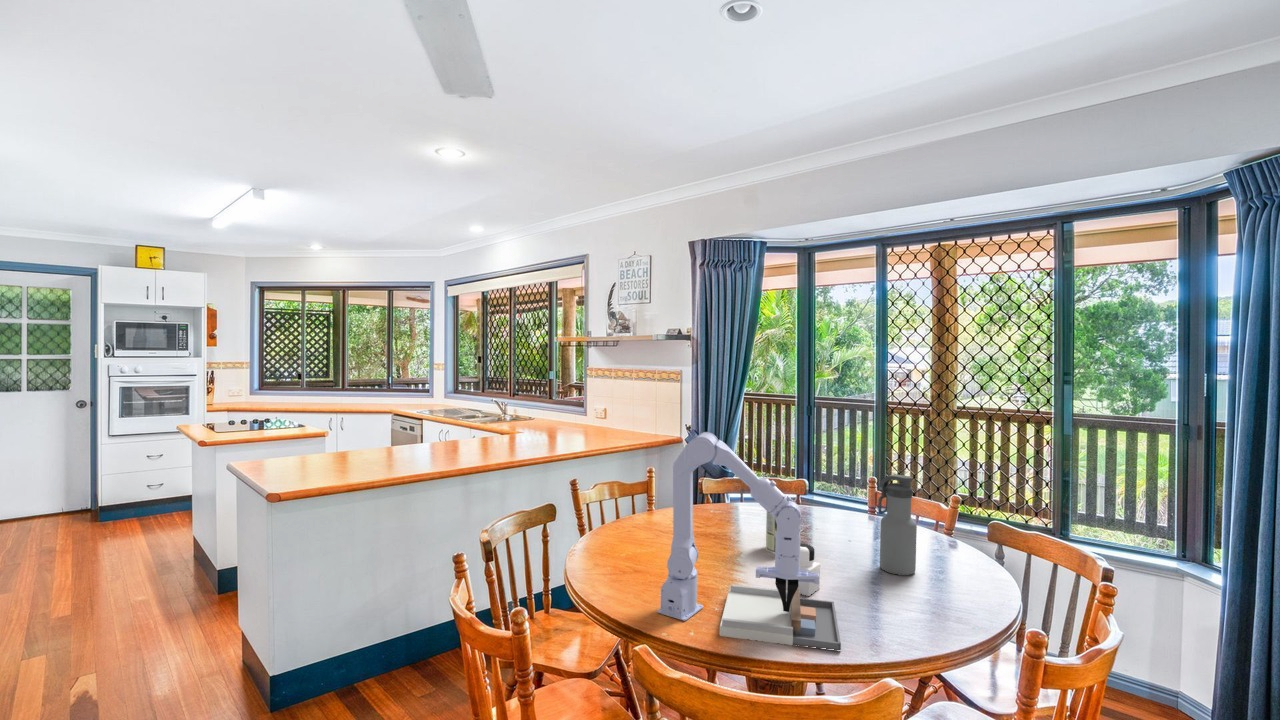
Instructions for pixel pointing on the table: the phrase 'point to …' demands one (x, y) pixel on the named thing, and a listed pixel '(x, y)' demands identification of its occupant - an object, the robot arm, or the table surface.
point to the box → (820, 626)
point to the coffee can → (771, 533)
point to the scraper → (796, 612)
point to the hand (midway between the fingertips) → (786, 609)
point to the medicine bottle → (807, 569)
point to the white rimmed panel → (756, 615)
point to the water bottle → (897, 526)
